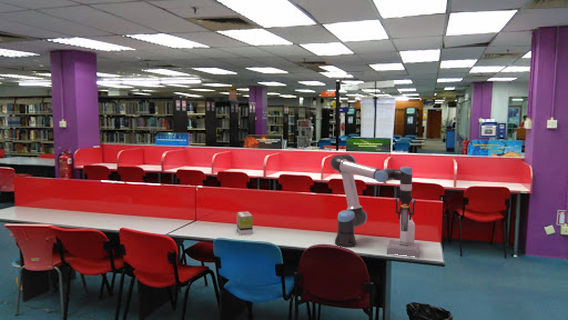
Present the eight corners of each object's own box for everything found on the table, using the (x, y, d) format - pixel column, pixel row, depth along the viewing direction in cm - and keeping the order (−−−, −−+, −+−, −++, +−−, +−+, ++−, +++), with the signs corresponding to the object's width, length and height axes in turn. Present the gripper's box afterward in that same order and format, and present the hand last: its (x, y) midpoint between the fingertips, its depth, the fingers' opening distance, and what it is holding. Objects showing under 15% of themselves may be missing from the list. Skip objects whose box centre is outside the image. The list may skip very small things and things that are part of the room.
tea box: (236, 230, 310) (236, 211, 309) (248, 229, 313) (248, 211, 312) (240, 235, 296) (240, 216, 295) (252, 234, 299) (253, 215, 298)
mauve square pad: (386, 254, 257) (387, 245, 256) (389, 245, 275) (390, 237, 275) (418, 258, 249) (419, 249, 249) (419, 249, 268) (420, 240, 268)
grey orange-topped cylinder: (399, 231, 259) (400, 205, 257) (399, 229, 265) (400, 203, 263) (408, 232, 257) (409, 206, 255) (409, 229, 263) (410, 204, 261)
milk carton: (399, 242, 282) (400, 217, 280) (407, 242, 284) (408, 216, 282) (405, 245, 275) (407, 219, 273) (414, 244, 278) (415, 218, 276)
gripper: (391, 189, 258) (390, 224, 260) (419, 191, 252) (418, 226, 254) (392, 188, 265) (391, 221, 267) (419, 190, 259) (418, 224, 261)
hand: (404, 224), depth 260 cm, fingers closed on grey orange-topped cylinder, 4 cm apart
